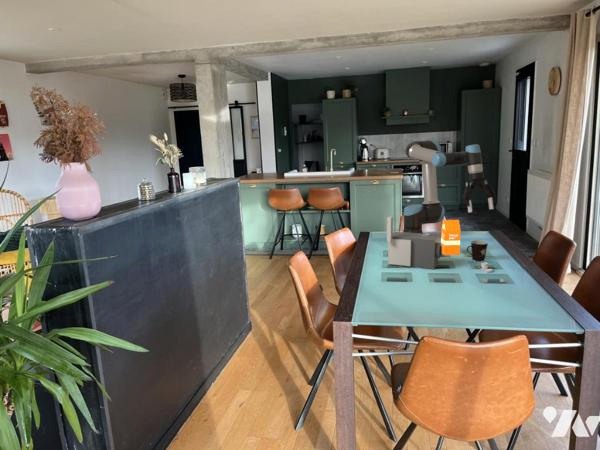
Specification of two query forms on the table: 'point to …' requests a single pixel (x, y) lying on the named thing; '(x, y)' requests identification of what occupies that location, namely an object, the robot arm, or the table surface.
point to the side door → (397, 247)
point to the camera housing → (422, 249)
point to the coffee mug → (478, 250)
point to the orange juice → (450, 237)
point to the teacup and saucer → (485, 267)
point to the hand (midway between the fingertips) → (481, 210)
